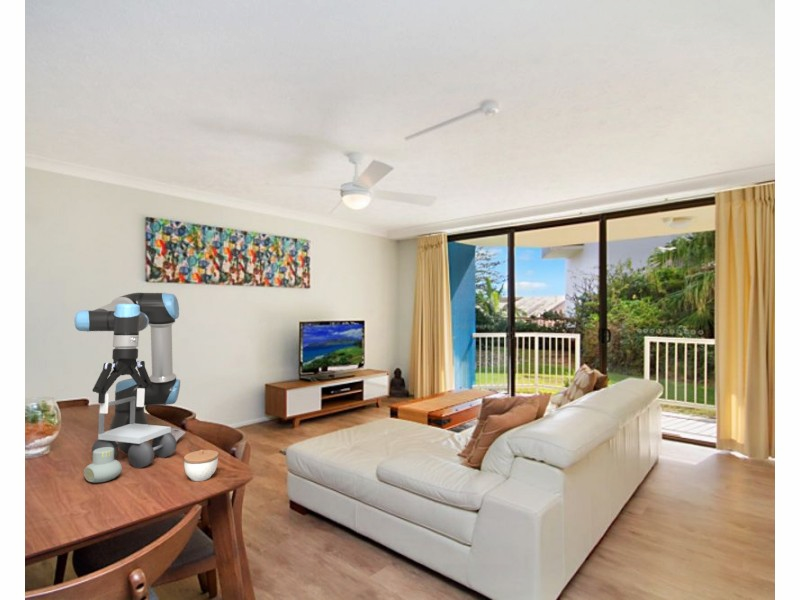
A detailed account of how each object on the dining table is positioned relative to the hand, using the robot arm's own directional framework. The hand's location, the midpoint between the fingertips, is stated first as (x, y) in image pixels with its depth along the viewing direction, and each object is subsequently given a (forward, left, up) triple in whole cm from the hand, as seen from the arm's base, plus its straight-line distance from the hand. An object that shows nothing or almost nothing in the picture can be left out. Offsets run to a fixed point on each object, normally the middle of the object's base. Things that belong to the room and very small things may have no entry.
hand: (122, 409), depth 149 cm
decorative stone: (-34, -11, -23) cm, 42 cm away
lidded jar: (-5, +28, -22) cm, 36 cm away
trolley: (-13, -7, -22) cm, 27 cm away
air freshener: (+5, -2, -22) cm, 23 cm away
